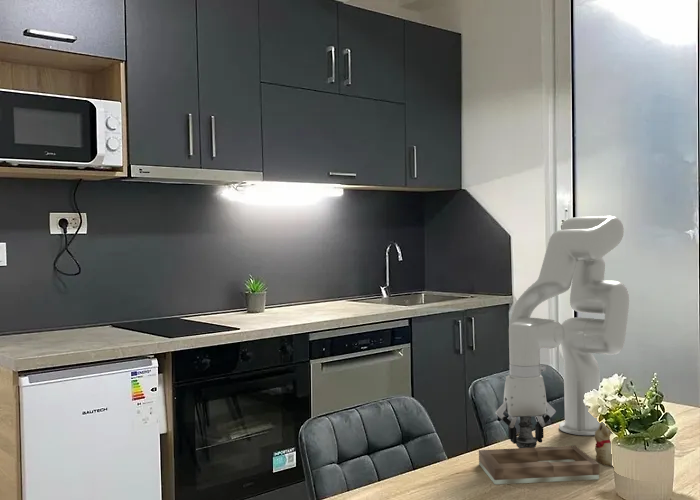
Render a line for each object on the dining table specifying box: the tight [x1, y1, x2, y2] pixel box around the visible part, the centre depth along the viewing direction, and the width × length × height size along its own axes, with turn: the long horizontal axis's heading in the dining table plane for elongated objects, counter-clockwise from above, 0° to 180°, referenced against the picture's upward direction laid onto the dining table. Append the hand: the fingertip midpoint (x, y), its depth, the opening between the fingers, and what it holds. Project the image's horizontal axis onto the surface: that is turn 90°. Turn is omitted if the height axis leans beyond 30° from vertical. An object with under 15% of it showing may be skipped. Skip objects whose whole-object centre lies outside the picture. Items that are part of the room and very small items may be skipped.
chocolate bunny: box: [594, 422, 613, 467], centre depth 175 cm, size 6×8×10 cm
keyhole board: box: [478, 445, 600, 485], centre depth 168 cm, size 24×14×4 cm, turn 94°
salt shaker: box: [515, 416, 538, 448], centre depth 182 cm, size 6×6×12 cm
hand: (526, 440), depth 183 cm, fingers closed on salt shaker, 5 cm apart
